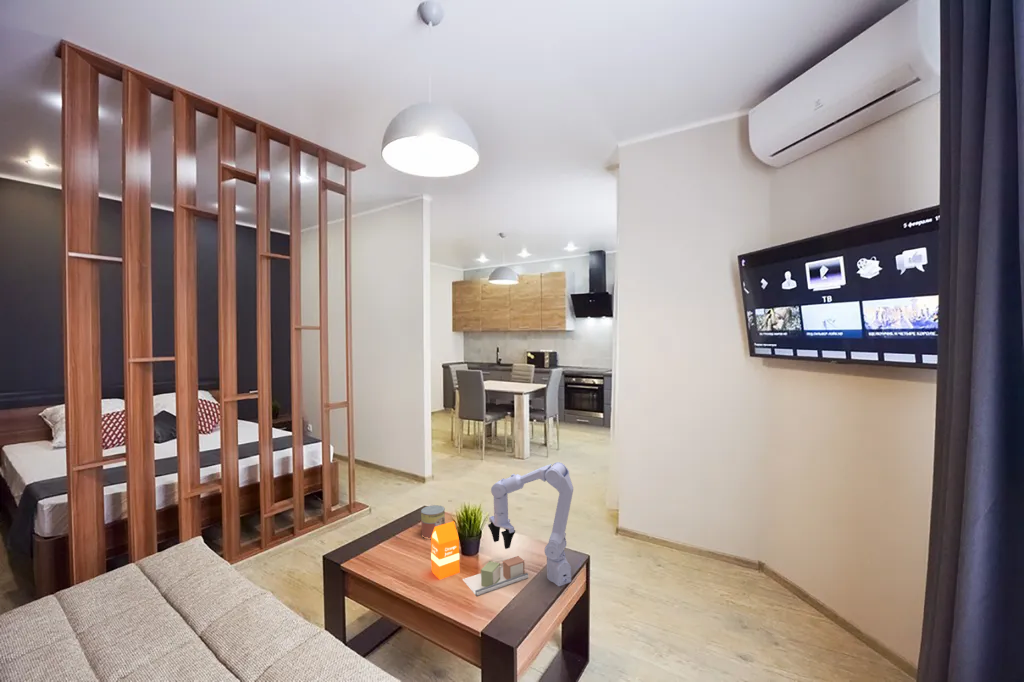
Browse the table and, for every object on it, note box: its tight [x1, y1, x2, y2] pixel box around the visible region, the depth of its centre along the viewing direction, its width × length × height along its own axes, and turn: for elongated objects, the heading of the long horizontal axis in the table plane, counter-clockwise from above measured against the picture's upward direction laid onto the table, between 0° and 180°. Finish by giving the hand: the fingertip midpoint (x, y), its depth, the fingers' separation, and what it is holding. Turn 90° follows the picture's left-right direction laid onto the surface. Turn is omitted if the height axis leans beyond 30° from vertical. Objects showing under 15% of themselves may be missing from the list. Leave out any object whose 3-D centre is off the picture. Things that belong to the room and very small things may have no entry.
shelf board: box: [462, 565, 529, 597], centre depth 165 cm, size 13×22×2 cm, turn 120°
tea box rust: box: [502, 555, 526, 580], centre depth 166 cm, size 5×7×6 cm
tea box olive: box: [480, 560, 501, 587], centre depth 162 cm, size 5×7×6 cm
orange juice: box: [430, 520, 461, 580], centre depth 170 cm, size 8×9×20 cm
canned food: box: [420, 504, 446, 538], centre depth 207 cm, size 11×11×12 cm
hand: (501, 544), depth 173 cm, fingers open, 7 cm apart
